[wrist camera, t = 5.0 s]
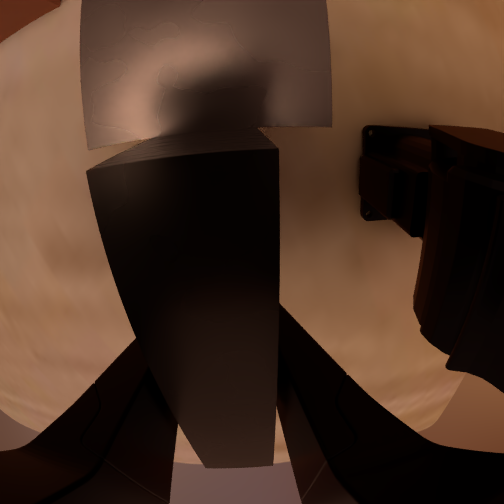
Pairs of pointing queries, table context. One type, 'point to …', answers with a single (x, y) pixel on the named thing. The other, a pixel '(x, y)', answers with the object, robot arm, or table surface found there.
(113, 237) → the turner
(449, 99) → the table surface
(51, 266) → the table surface
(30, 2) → the tile
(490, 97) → the table surface
